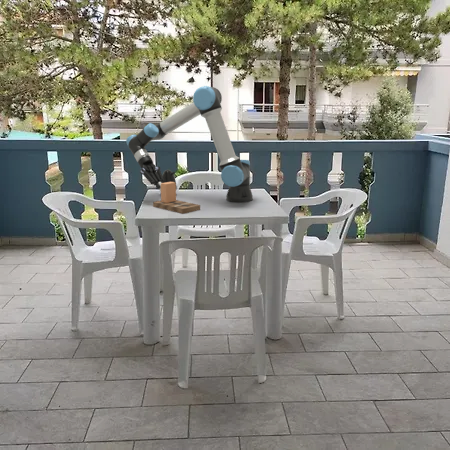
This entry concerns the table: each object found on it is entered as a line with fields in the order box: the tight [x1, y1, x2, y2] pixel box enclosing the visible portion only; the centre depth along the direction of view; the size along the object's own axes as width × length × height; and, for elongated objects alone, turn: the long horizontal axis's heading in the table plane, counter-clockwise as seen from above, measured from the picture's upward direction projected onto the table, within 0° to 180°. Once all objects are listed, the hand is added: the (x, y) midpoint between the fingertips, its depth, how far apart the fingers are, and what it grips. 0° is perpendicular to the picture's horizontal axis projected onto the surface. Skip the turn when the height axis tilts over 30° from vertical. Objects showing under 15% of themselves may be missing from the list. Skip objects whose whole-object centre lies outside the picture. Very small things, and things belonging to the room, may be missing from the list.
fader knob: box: [160, 182, 177, 203], centre depth 237 cm, size 4×7×10 cm, turn 137°
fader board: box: [152, 199, 201, 215], centre depth 235 cm, size 24×12×3 cm, turn 47°
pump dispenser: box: [162, 169, 178, 190], centre depth 268 cm, size 10×10×15 cm
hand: (164, 192), depth 239 cm, fingers closed
